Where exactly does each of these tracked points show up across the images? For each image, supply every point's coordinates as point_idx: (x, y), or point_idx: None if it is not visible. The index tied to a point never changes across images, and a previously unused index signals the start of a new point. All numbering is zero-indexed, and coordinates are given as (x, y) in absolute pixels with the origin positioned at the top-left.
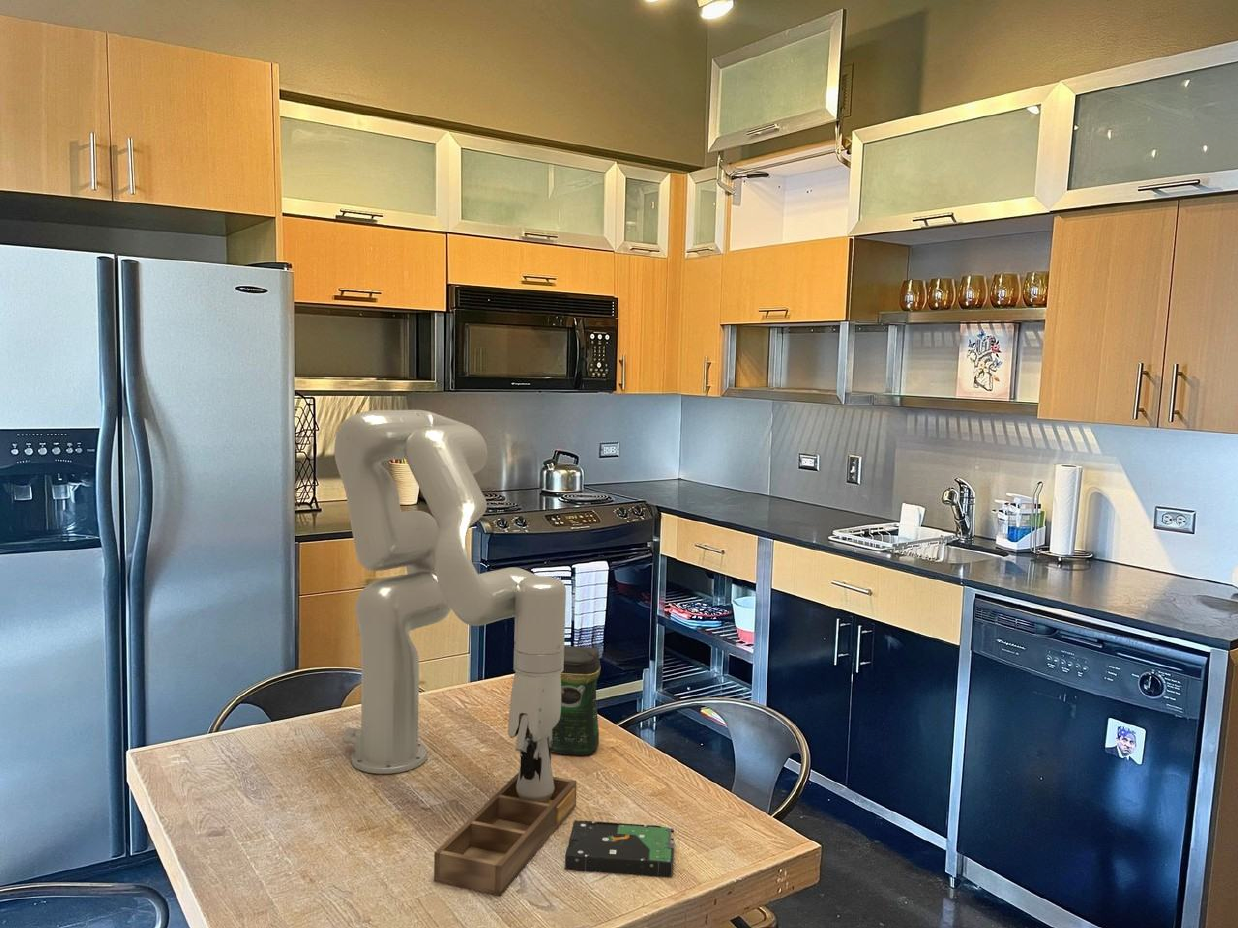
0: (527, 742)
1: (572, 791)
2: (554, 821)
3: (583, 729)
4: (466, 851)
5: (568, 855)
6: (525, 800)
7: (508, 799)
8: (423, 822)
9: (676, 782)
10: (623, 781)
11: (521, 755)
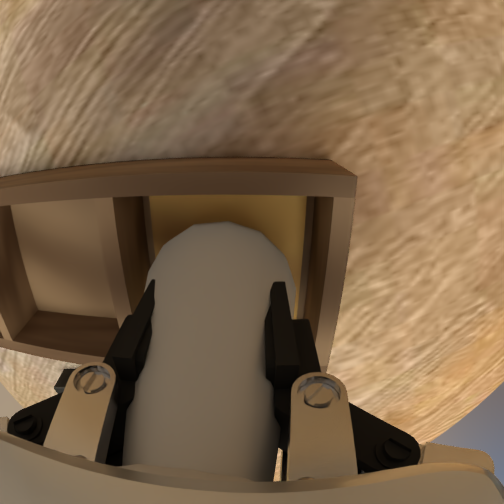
0: (138, 437)
1: None
2: None
3: None
4: None
5: (56, 391)
6: (120, 295)
7: (101, 237)
8: (64, 3)
9: (435, 419)
10: (443, 362)
11: (77, 379)
